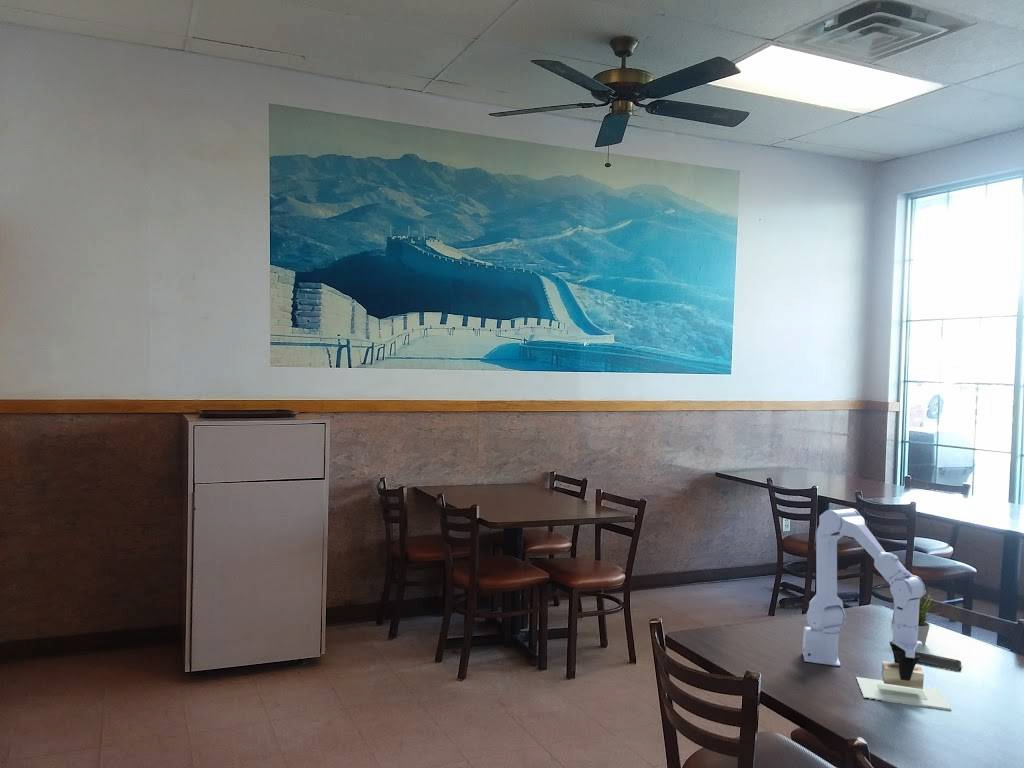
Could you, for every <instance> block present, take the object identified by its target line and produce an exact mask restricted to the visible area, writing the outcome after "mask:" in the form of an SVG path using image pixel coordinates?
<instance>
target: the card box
mask: <svg viewBox="0 0 1024 768" xmlns="http://www.w3.org/2000/svg"><path fill="white" fill-rule="evenodd" d="M881 662H882V664H881V680H883V682H884V684H891V685H897V686H904V687H911V688H917V689H923V686H924V679H925V676H924V675H925V674H924V672H923V669H922V666H919V665H915V667H914V669H913V672H912V676H911V679H910V681H907V680H901V678H900V674H899V664H898V663H895V662H894V661H893V662H892V661H891V662H890V661H885V660H882V661H881Z"/></svg>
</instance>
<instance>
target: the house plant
mask: <svg viewBox="0 0 1024 768" xmlns="http://www.w3.org/2000/svg"><path fill="white" fill-rule="evenodd" d="M926 595H927V590H926V589H925V594H924V595H923V597H921V598H919V599H920V604H919V621H918V637H917V641H921V642H922V646H921V647H923V646H926V643H927V639H928V634H929V630H930V626H931V625H930V623H929V621H930V619H929V618H928V619H927V617H929V616H931V615H933V614H937V615H940V613H938V612H931V613H929V614H927V615H926V613H927V612H928V611H929V610H930V609H931V608H933V606H935V605H936V604H937V602H935V603H934V604H932V600H933V596H932V597H931V598H930V594H928V596H927V598H926V600H925V601H924V599H925V597H926ZM929 599H930V600H929ZM923 603H924V604H923ZM893 605H894V603H893ZM930 605H931V606H930ZM927 621H928V622H927Z"/></svg>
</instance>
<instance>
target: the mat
mask: <svg viewBox="0 0 1024 768" xmlns="http://www.w3.org/2000/svg"><path fill="white" fill-rule="evenodd" d="M855 679H857V680H856V682H857V685H858V684H859V685H858V687H859V689H861V690H860V692H862V693H861V695H862V694H863V695H862V697H864V698H869V699H868V700H871V699H875V700H874V701H878V700H882V701H881V702H885V701H886V702H888V703H894V704H900V703H901V705H907V706H915V707H921V706H922V707H921V708H928V707H931V708H930V709H936V708H937V710H944V711H950V712H951V711H952V707H951V706H950V704H949V702H948V701H947V699H946V698H945V696H944V694H943V693H942V692H941V690H940V688H939V687H935V686H934V687H933V686H927V685H923V689H917V688H911V687H904V686H897V685H891V684H884V682H883V679H881V680H880V679H876V678H875V679H874V678H866V677H859V676H856V677H855ZM864 698H863V699H864Z"/></svg>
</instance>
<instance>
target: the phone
mask: <svg viewBox="0 0 1024 768" xmlns="http://www.w3.org/2000/svg"><path fill="white" fill-rule="evenodd" d="M915 654H916V655H919V656H920V659H919V661H918V662H917V663H916V664H917V665H918V664H919V665H923V664H924V665H923V666H928V665H929V666H928V667H933V666H934V667H933V668H937V667H939V668H938V669H942V668H945V669H944V670H947V669H950V670H949V671H952V670H954V671H953V672H958V671H959V672H962V661H961V660H958V659H954V658H950V657H949V658H948V657H944V656H938V655H934V654H928V653H924V652H919V651H915Z"/></svg>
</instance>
